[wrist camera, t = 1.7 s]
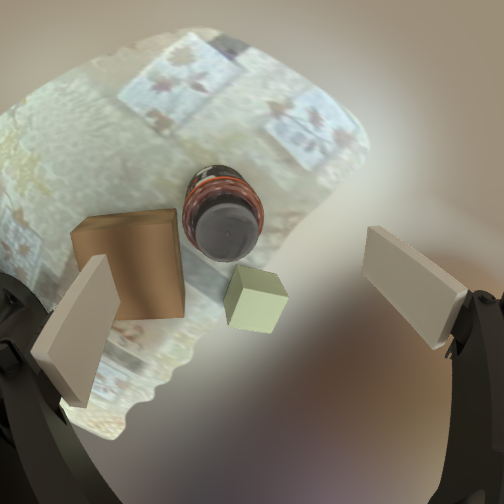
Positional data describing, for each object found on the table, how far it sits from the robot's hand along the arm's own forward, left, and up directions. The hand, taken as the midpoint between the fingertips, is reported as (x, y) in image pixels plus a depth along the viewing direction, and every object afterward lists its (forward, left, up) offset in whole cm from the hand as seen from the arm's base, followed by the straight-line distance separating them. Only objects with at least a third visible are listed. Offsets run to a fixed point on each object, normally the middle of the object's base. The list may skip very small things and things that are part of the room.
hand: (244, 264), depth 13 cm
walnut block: (-10, -6, -16) cm, 20 cm away
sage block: (+3, -11, -16) cm, 20 cm away
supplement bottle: (0, 0, -16) cm, 16 cm away
